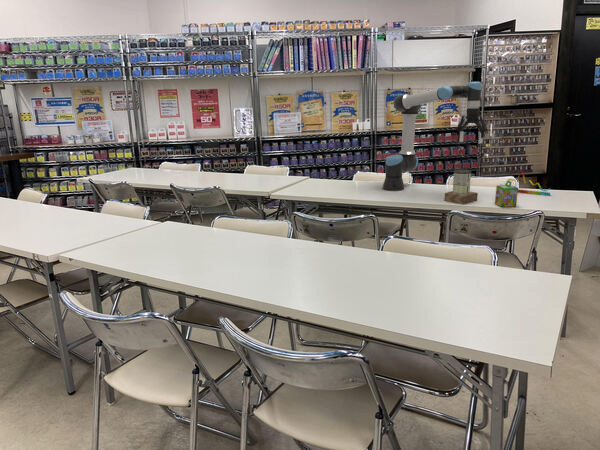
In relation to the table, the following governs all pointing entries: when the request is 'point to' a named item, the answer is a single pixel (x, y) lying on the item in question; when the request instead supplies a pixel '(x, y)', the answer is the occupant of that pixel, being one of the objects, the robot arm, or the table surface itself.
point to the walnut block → (461, 197)
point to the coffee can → (461, 181)
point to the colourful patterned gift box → (506, 195)
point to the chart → (531, 191)
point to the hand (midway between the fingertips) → (470, 142)
